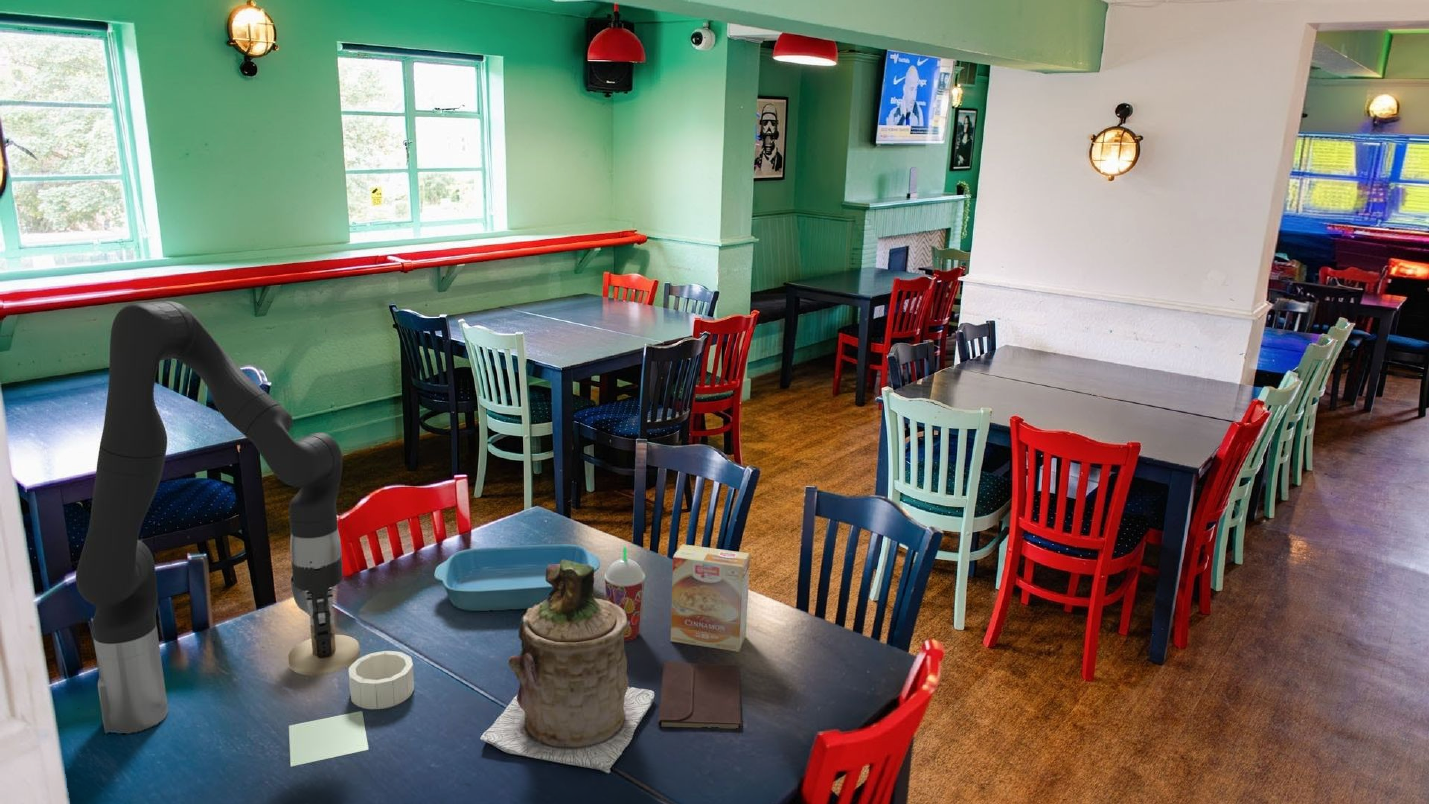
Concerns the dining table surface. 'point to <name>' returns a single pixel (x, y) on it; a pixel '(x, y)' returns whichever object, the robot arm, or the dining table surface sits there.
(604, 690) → the cookie jar
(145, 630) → the robot arm
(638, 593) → the smoothie
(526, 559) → the casserole dish
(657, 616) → the dining table surface
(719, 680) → the notebook
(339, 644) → the lid
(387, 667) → the bowl
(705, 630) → the coffeecake box
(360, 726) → the mat
